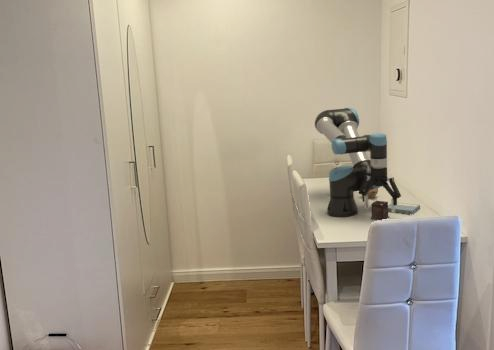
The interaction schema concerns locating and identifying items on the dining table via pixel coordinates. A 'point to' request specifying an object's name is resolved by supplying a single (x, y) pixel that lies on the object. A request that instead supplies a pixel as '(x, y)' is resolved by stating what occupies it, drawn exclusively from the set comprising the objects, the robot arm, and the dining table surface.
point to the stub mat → (380, 219)
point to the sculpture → (372, 193)
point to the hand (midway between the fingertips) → (379, 210)
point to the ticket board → (405, 208)
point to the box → (379, 209)
